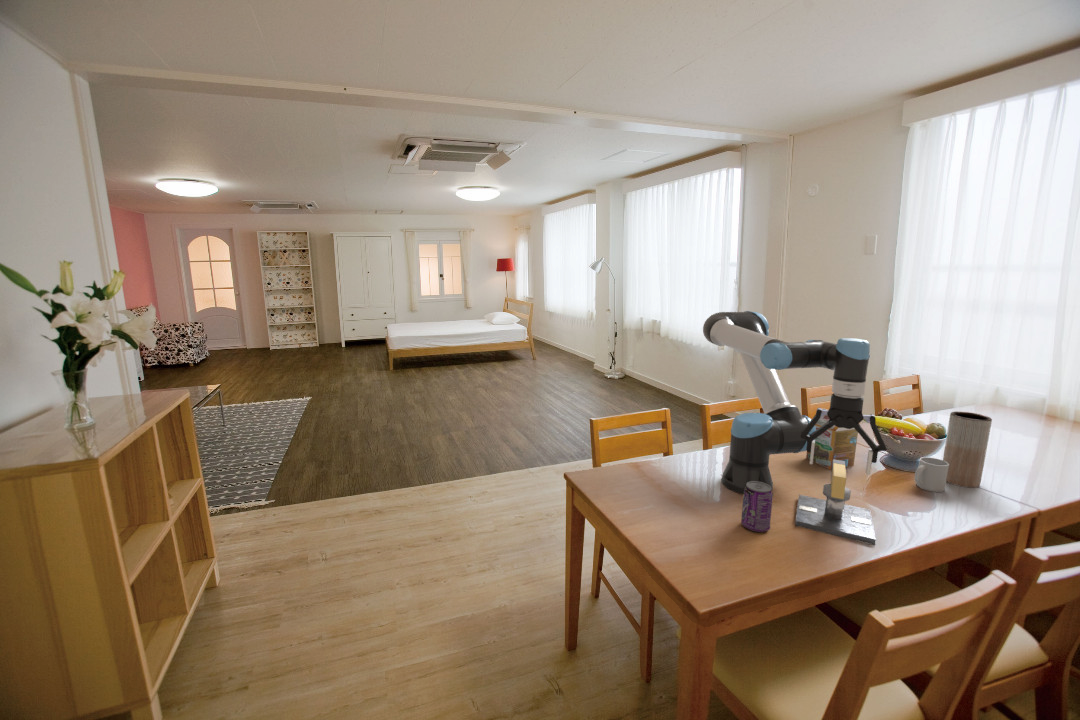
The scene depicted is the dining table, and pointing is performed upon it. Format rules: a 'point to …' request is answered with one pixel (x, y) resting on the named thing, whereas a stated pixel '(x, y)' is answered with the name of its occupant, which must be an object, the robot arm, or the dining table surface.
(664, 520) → the dining table surface
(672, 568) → the dining table surface
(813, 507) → the post base
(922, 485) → the grey cup
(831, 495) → the handle
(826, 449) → the milk carton
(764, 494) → the beverage can
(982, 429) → the planter
